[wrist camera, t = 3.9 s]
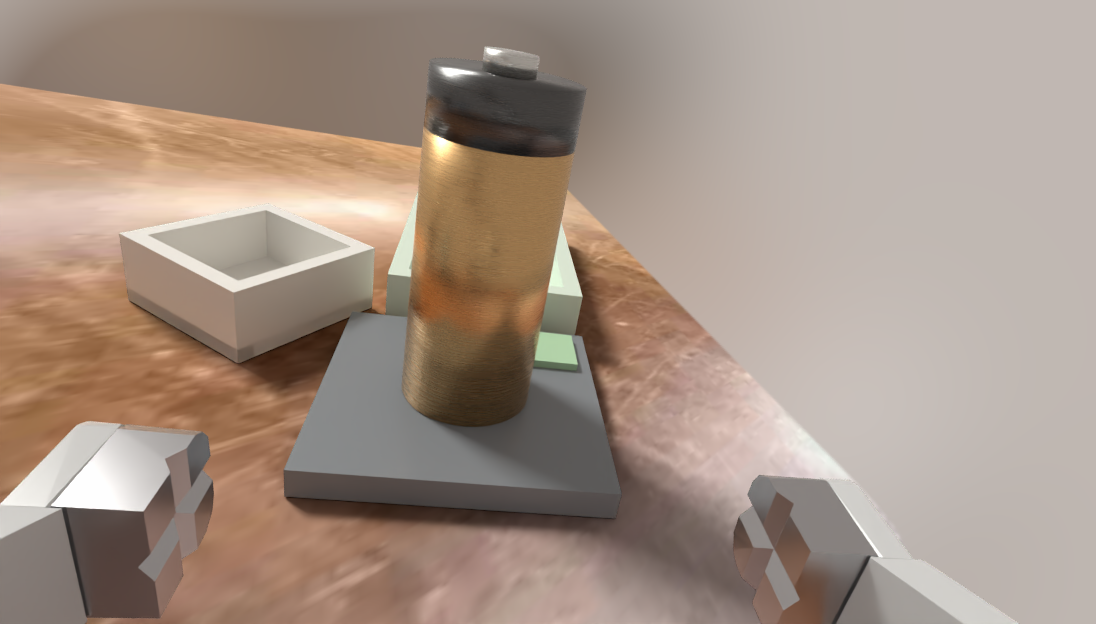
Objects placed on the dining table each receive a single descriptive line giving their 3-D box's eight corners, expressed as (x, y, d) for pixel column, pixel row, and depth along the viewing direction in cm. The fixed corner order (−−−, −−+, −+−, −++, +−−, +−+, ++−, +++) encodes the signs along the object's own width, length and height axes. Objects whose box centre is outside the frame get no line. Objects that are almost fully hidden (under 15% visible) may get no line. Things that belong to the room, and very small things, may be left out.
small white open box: (128, 300, 27) (119, 233, 26) (270, 259, 33) (268, 203, 31) (237, 363, 24) (233, 292, 23) (372, 307, 30) (374, 247, 28)
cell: (373, 387, 22) (396, 32, 17) (455, 342, 26) (493, 40, 21) (479, 445, 21) (538, 67, 16) (550, 388, 24) (616, 69, 19)
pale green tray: (572, 344, 30) (582, 296, 29) (384, 324, 29) (387, 274, 27) (548, 237, 42) (555, 201, 41) (418, 220, 41) (420, 183, 40)
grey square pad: (284, 496, 19) (283, 462, 18) (351, 331, 28) (352, 305, 27) (614, 518, 20) (624, 487, 20) (577, 355, 29) (583, 330, 28)
